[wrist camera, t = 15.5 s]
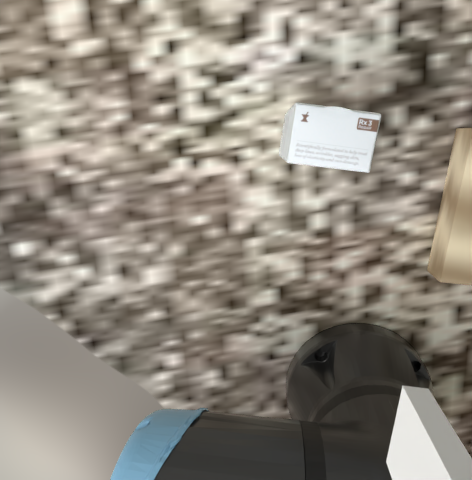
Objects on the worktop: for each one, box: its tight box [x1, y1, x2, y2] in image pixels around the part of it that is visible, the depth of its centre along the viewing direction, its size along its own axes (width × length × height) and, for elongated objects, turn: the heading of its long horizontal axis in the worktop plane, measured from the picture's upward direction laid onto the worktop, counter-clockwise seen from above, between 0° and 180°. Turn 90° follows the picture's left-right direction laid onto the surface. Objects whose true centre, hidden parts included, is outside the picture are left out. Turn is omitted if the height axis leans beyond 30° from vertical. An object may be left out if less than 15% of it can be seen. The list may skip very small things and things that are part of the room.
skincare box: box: [279, 103, 381, 173], centre depth 35 cm, size 6×4×12 cm
